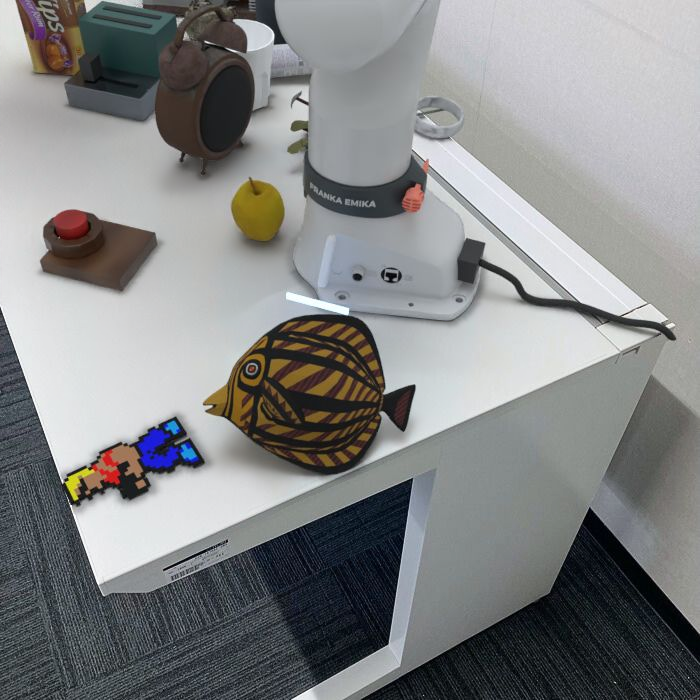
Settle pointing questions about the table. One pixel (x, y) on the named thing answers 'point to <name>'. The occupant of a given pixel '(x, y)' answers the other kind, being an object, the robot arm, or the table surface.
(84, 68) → the slider
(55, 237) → the block
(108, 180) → the table surface
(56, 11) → the candy box
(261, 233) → the apple
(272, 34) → the cup
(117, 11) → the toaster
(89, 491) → the pixel art figurine
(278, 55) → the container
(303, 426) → the decorative fish sculpture
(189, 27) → the rock
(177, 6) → the model house
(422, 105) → the ring
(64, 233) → the button
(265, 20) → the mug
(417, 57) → the robot arm
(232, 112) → the alarm clock
